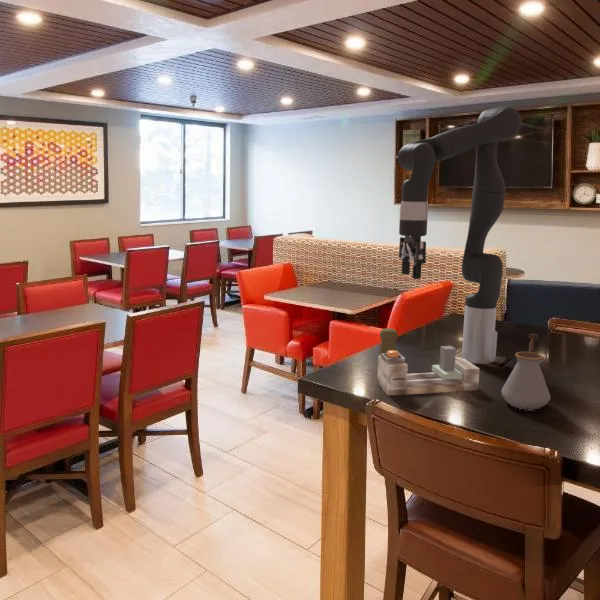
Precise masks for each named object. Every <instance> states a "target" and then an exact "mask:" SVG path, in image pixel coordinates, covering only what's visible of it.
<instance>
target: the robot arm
mask: <svg viewBox="0 0 600 600" xmlns="http://www.w3.org/2000/svg"><path fill="white" fill-rule="evenodd" d="M521 127H522V117H521V114H520V112H519V111H518V110H517V109H516V108H513V107H511V106H502V107H493V108H489V109H486V110H484V111H482V112H481V113H480V115H479V117H478V119H477V122H476V123H472V124H469V125H464V126H460V127H456V128H453V129H449V130H446V131H444V132H441V133H438V134H436V135H434V136H432V137H429V138H428V137H427V138H425V139H420V140H416V141H413V142H410V143H407V144H405V145H403V146H402V147H401V148H400V150H399V151H398V153H397V162H398V165H399V166H400V167H401V168H402V169H404V170H407V171H412V172H411V174H410V177H409V178H408V179H405V180H404V181H403V182H402V185H401V186H402V187H401V198H400V199H401V201H400V208H399V224H398V225H399V229H398V230H399V231H398V234H399V236H401V237H400V238H399V245H398V246H399V247H398V249H399V250H398V258H400V261H401V274H402V275H410V272H411V271H410V270H411V261H412V275H411V276H412V279H414V280H420V279H422V266H423V265H425V264H426V260H427V259H426V257H427V242H426V241H422V237H426V236H427V235H428V234H427V233H428V232H427V231H428V215H429V208H428V198H429V197H428V196H429V194H428V193H429V185H430V181H431V179H432V176H433V172H434V168H435V164H436V162H440V161H444V160H447V159H449V158H452V157H455V156H457V155H459V154H462V153H464V152H466V151H469V150H471V149H475V168H474V180H473V187H472V194H471V195H472V196H471V203H470V204H471V205H470V217H469V224H468V231H467V237H466V242H465V247H464V252H463V256H462V261H461V274H462V277H463V279H464V280H465V281H467V282H469V283H470V282H471V283H475V284H479V287H478V291H477V292H474V293H469V294H468V295H466V296H465V302H464V317H463V328H462V329H463V333H462V334H463V335H462V346H461V359H465V360H467V361H468V362H470V363H472V364H474V365H477V364H478V365H487V364H491V363H496V354H497V342H498V331H496V320H497V319H496V318H497V307H498V305H497V304H498V300H499V298H500V294H501V287H502V280H503V272H504V266H503V261H502V259H501V257H500V256H499V255H497V254H493V253H485V252H484V250H485V249H484V248H485V242H486V240H487V239H486V238H487V236H488V234H489V232H490V231H491V229H492V228H493V226H494V225H495V224H496V222H497V221H498V220H499V218H500V216H501V215H502V213H503V209H504V204H505V197H506V196H505V195H506V184H505V179H504V177H503V174H502V172H501V169H500V167H499V164H498V161H497V152H498V142H499V141H507V140H510V139H512V138H514V137H515V136H516V135H517V134H518V133H519V131H520V129H521Z"/></svg>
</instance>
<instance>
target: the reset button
mask: <svg viewBox="0 0 600 600" xmlns="http://www.w3.org/2000/svg"><path fill="white" fill-rule="evenodd" d="M399 353H400V352H399V351H398V350H396V351H394V350H390V351H387V358H399Z"/></svg>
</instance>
